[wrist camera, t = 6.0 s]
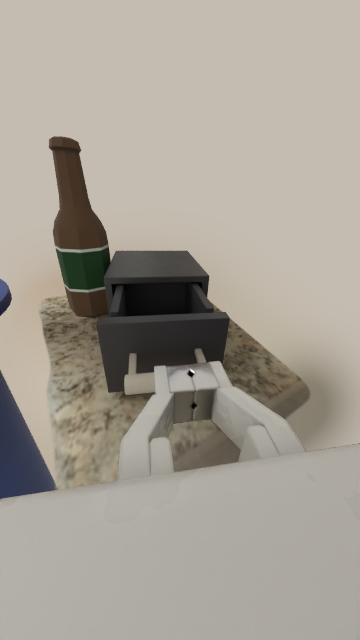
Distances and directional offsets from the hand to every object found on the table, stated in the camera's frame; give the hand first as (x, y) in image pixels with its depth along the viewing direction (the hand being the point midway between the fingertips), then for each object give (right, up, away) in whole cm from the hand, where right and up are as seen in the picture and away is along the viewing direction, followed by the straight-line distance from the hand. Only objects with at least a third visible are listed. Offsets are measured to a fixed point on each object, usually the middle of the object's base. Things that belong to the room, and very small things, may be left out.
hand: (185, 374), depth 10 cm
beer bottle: (-16, +5, +30) cm, 34 cm away
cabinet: (-4, +3, +27) cm, 27 cm away
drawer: (-2, -2, +16) cm, 17 cm away
